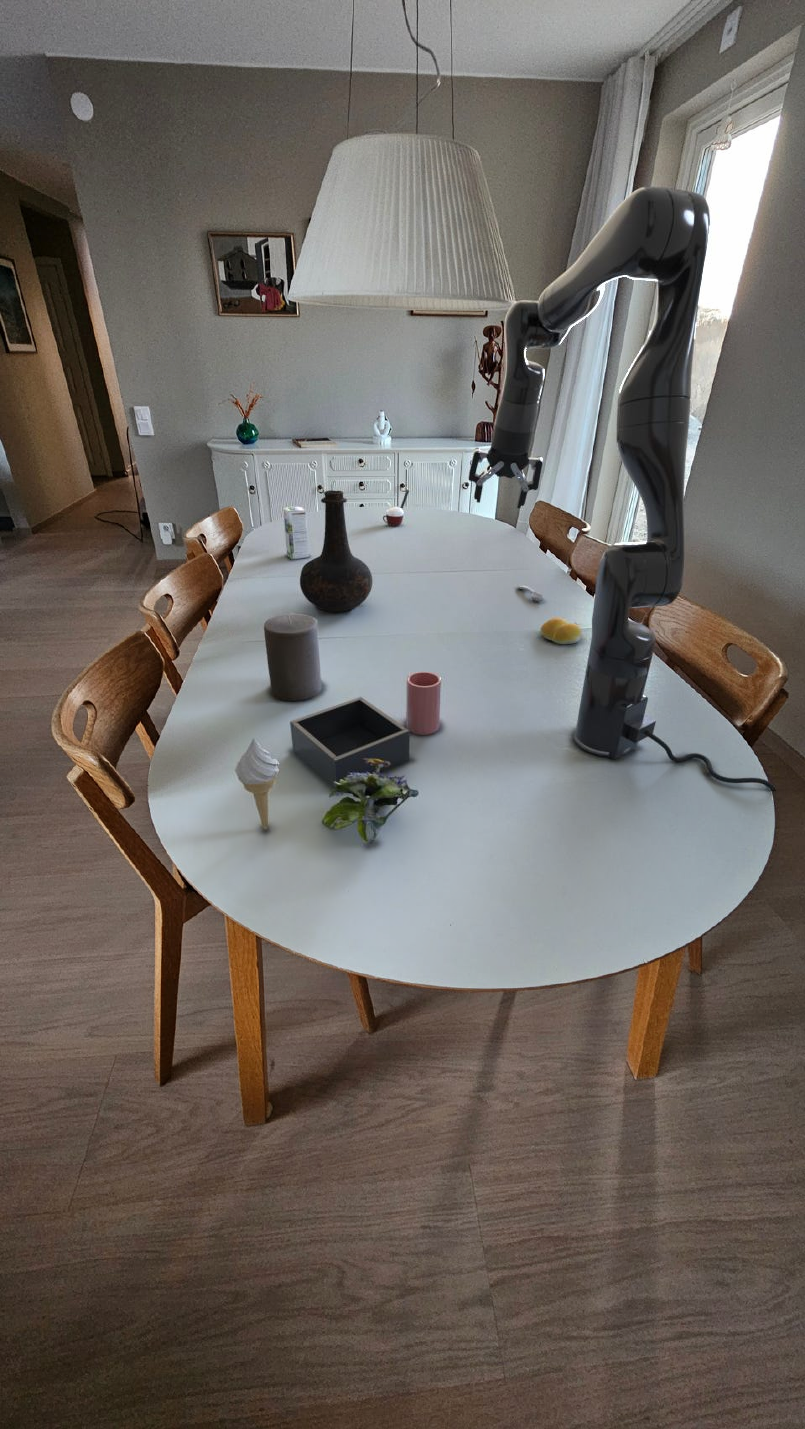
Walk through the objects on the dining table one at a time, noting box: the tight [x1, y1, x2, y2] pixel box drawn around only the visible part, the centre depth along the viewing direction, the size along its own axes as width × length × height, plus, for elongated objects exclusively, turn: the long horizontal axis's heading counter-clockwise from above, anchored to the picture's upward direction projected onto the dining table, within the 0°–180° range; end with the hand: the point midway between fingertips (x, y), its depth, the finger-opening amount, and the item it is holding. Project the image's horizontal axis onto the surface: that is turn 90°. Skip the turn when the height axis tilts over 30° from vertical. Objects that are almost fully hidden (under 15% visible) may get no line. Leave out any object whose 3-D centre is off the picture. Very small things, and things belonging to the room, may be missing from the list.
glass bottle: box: [299, 489, 374, 613], centre depth 151 cm, size 18×18×28 cm
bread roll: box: [540, 617, 583, 645], centre depth 140 cm, size 8×9×4 cm
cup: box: [405, 671, 442, 736], centre depth 106 cm, size 6×6×9 cm
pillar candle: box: [263, 612, 322, 702], centre depth 116 cm, size 10×10×15 cm
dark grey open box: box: [289, 696, 411, 790], centre depth 99 cm, size 14×14×6 cm
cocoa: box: [382, 489, 410, 527], centre depth 225 cm, size 10×6×12 cm, turn 91°
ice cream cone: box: [234, 737, 280, 831], centre depth 81 cm, size 6×6×15 cm
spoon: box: [518, 585, 545, 602], centre depth 164 cm, size 3×12×2 cm, turn 15°
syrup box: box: [282, 506, 310, 560], centre depth 191 cm, size 6×6×14 cm
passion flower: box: [321, 758, 420, 845], centre depth 84 cm, size 11×11×12 cm
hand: (498, 504), depth 131 cm, fingers open, 8 cm apart
